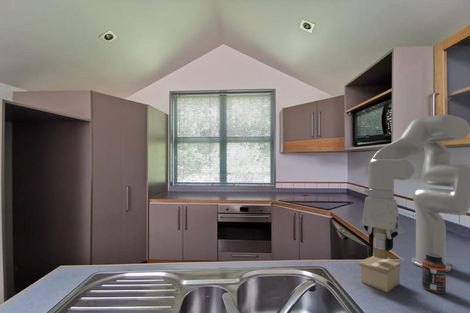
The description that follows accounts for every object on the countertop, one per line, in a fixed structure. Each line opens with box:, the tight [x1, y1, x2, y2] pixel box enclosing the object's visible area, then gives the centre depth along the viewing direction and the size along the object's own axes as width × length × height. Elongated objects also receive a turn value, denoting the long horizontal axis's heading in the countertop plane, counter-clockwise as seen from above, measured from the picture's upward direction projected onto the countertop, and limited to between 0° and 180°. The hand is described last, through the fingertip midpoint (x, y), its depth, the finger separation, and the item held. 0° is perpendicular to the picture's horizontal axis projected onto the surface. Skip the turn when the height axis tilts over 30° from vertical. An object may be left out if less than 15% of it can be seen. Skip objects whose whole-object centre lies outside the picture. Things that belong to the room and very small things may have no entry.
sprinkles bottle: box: [372, 227, 389, 260], centre depth 83 cm, size 5×5×13 cm
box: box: [360, 266, 401, 293], centre depth 82 cm, size 10×8×6 cm
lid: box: [358, 255, 401, 275], centre depth 82 cm, size 12×8×1 cm
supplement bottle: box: [421, 253, 447, 295], centre depth 79 cm, size 6×6×11 cm
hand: (380, 247), depth 83 cm, fingers closed on sprinkles bottle, 4 cm apart
